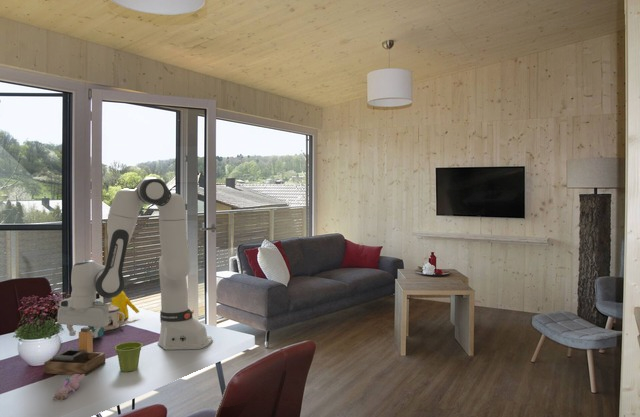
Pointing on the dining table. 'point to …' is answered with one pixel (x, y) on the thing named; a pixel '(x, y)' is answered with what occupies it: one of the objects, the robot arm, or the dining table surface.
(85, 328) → the orange square peg
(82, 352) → the socket
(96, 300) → the beverage bottle
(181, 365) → the dining table surface
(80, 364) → the crate
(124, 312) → the figure statuette
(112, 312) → the teacup with lid
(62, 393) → the rabbit figure
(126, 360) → the plant pot
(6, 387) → the dining table surface
